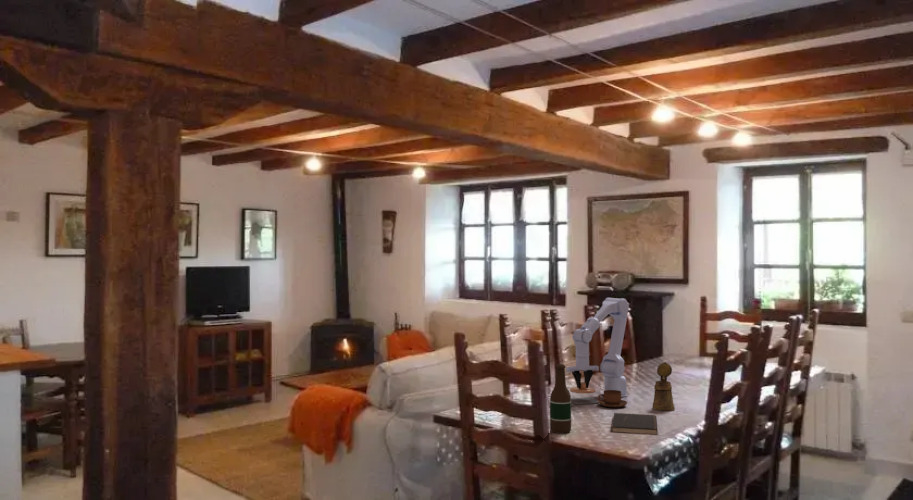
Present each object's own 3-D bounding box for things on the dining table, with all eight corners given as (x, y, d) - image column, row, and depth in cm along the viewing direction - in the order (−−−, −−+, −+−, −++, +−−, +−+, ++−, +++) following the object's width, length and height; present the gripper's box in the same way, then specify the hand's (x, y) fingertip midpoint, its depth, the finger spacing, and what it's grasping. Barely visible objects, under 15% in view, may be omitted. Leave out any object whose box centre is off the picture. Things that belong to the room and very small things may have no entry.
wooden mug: (676, 405, 301) (676, 362, 301) (673, 411, 289) (673, 367, 289) (654, 403, 304) (654, 361, 304) (651, 410, 292) (650, 366, 292)
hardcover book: (611, 433, 257) (611, 426, 257) (614, 418, 279) (614, 412, 279) (657, 435, 253) (657, 429, 253) (656, 421, 275) (656, 415, 275)
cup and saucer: (610, 410, 292) (610, 395, 292) (592, 405, 303) (592, 390, 303) (633, 407, 298) (633, 392, 298) (614, 402, 308) (614, 387, 308)
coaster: (589, 397, 317) (589, 396, 317) (601, 403, 305) (601, 402, 305) (564, 399, 314) (564, 398, 314) (575, 405, 302) (575, 404, 302)
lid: (588, 388, 316) (588, 379, 316) (600, 392, 306) (600, 384, 306) (565, 389, 313) (565, 381, 313) (576, 394, 303) (576, 385, 303)
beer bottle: (547, 428, 262) (547, 363, 262) (568, 428, 262) (568, 363, 263) (552, 434, 254) (552, 366, 254) (573, 433, 255) (573, 366, 255)
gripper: (593, 354, 315) (593, 385, 315) (563, 356, 312) (563, 387, 312) (600, 356, 309) (601, 388, 309) (569, 358, 305) (570, 390, 305)
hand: (582, 387), depth 310 cm, fingers closed on lid, 3 cm apart
